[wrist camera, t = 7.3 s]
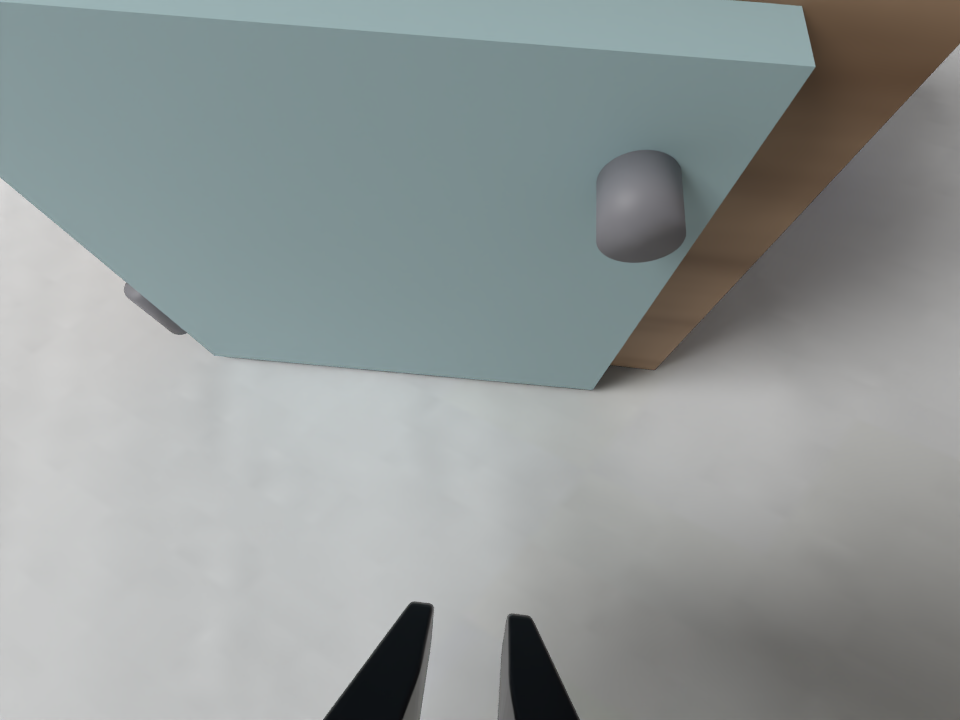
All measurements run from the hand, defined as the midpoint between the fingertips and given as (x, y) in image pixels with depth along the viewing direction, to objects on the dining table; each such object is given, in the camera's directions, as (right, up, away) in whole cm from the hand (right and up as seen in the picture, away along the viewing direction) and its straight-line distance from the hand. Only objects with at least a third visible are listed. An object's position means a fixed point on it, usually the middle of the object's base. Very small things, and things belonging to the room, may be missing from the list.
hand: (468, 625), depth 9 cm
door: (-3, +4, +10) cm, 11 cm away
